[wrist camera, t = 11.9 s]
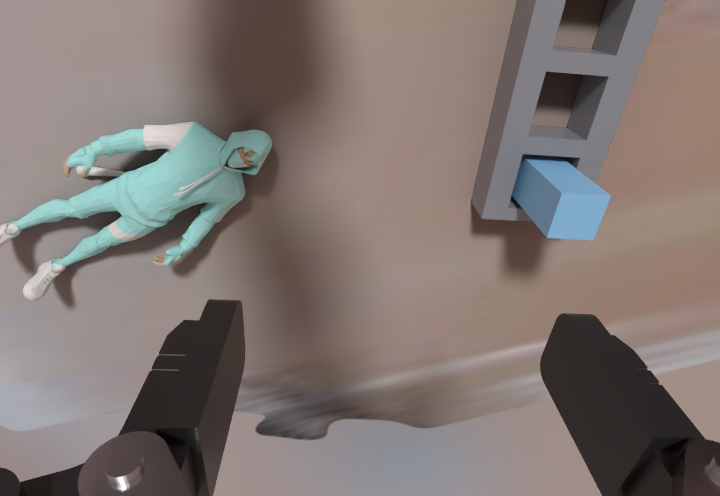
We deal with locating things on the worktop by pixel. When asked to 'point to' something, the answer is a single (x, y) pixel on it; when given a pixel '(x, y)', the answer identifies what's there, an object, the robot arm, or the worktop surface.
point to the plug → (559, 197)
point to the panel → (592, 105)
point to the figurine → (150, 190)
